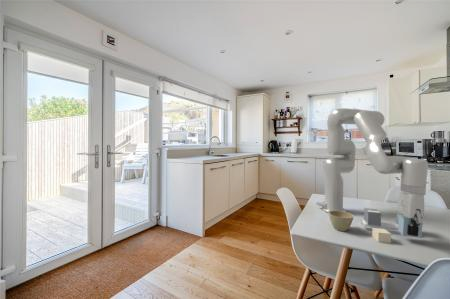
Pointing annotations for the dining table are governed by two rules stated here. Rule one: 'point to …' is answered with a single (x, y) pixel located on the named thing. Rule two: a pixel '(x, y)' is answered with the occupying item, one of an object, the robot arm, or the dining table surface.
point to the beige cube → (381, 235)
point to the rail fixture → (378, 221)
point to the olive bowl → (341, 220)
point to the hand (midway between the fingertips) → (409, 231)
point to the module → (403, 226)
